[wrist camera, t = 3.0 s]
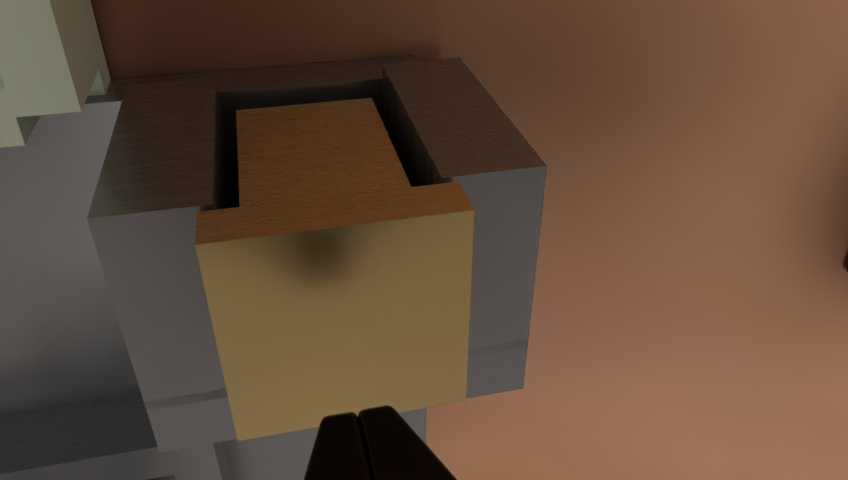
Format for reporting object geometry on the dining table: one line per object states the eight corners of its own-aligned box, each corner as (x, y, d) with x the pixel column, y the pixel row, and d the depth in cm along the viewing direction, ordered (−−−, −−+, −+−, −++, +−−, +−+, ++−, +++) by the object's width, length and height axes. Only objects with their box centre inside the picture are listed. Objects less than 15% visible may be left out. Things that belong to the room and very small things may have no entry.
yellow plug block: (396, 71, 14) (474, 210, 9) (400, 227, 16) (465, 400, 11) (203, 87, 13) (195, 244, 9) (233, 248, 15) (237, 440, 11)
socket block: (444, 38, 15) (546, 165, 11) (437, 489, 24) (492, 674, 19) (-293, 95, 13) (-610, 299, 8) (-7, 578, 21) (-74, 818, 16)
